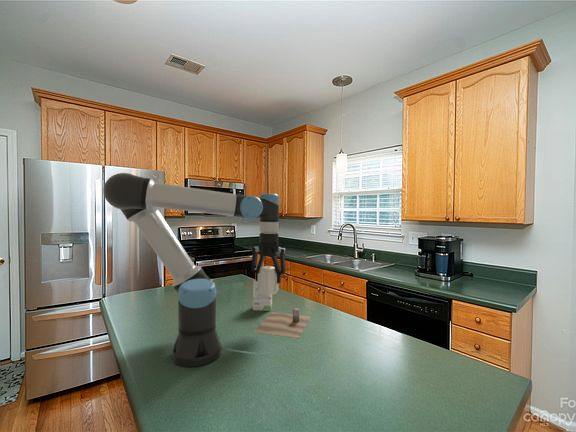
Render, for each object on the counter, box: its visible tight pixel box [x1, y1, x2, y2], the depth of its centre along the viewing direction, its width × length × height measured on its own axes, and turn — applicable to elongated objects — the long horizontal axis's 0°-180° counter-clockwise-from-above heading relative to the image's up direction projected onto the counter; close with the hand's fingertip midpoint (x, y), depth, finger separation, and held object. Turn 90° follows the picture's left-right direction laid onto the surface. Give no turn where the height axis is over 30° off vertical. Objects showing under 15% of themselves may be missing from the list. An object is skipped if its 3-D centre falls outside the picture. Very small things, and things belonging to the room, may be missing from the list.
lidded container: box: [259, 265, 277, 296], centre depth 112 cm, size 6×6×10 cm
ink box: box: [252, 279, 273, 312], centre depth 133 cm, size 9×5×15 cm, turn 84°
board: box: [253, 307, 312, 339], centre depth 116 cm, size 22×18×6 cm
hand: (267, 290), depth 112 cm, fingers closed on lidded container, 6 cm apart
